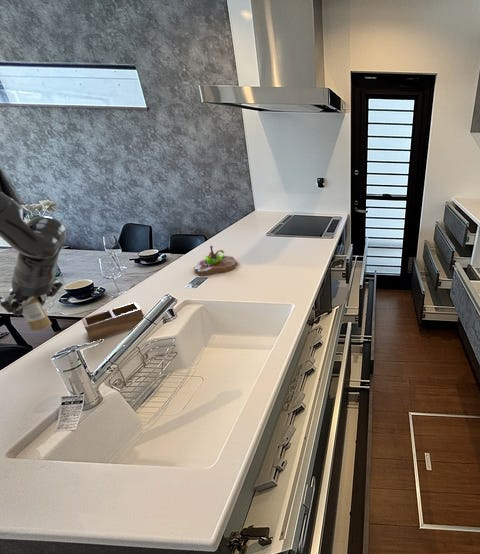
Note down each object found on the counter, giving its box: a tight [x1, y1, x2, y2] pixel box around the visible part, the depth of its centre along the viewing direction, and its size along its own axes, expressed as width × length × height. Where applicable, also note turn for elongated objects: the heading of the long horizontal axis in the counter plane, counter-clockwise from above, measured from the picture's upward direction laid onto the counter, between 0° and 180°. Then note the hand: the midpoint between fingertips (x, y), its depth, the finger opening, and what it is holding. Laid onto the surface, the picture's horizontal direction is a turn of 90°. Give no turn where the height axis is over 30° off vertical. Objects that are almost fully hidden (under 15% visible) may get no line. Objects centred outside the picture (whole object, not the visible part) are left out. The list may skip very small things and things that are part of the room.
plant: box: [193, 245, 238, 276], centre depth 156 cm, size 20×20×11 cm
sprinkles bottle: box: [8, 287, 52, 332], centre depth 89 cm, size 5×5×14 cm
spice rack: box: [81, 301, 145, 343], centre depth 106 cm, size 8×15×6 cm, turn 137°
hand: (27, 308), depth 89 cm, fingers closed on sprinkles bottle, 4 cm apart
